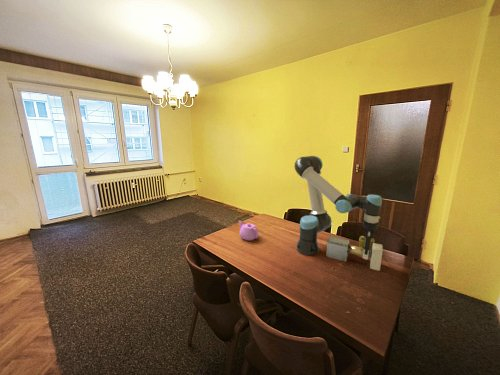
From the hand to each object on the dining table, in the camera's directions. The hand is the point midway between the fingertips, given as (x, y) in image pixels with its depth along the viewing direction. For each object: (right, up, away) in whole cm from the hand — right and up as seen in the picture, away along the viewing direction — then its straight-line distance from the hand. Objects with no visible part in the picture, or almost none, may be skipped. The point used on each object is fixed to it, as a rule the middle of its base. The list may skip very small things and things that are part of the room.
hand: (365, 253), depth 127 cm
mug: (+10, -3, +18) cm, 21 cm away
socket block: (+5, -7, -1) cm, 9 cm away
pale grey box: (-14, -5, +10) cm, 17 cm away
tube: (-3, -2, +2) cm, 4 cm away
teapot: (-73, +1, +37) cm, 82 cm away
